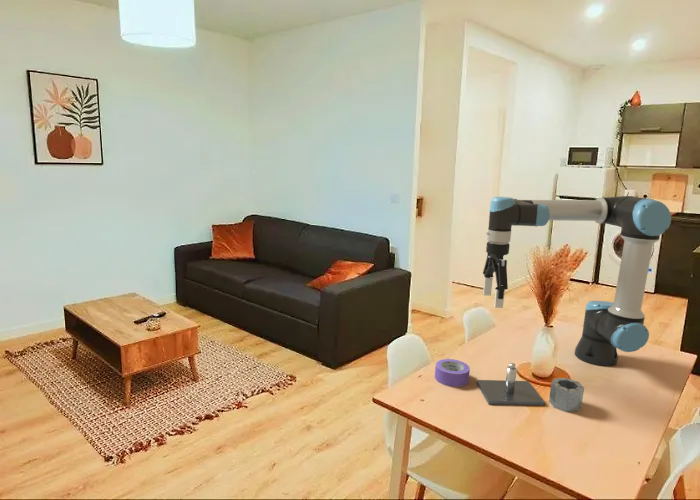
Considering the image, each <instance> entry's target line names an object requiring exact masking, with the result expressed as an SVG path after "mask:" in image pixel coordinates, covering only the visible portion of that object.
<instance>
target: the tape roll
mask: <svg viewBox="0 0 700 500" xmlns="http://www.w3.org/2000/svg"><path fill="white" fill-rule="evenodd" d="M470 371H471V369H470V366H469V365H468V363H465V362H464V361H461V360H458V359H453V358H452V359H451V358H444V359H443V358H442V359H439V360H437V361H436V363H435V369H434V379H435V381H437V382H438V383H440V384H441V385H444V386H447V387H452V388H455V387H456V388H457V387H459V388H460V387H464V386H466V385H467V384H469V381H470V380H469V379H470V373H471V372H470Z"/></svg>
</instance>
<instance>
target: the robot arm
mask: <svg viewBox="0 0 700 500" xmlns="http://www.w3.org/2000/svg"><path fill="white" fill-rule="evenodd" d="M489 206H490V207H489V216H488V217H489V218H488V219H489V220H488V230H487V231H488V232H486V236H487V242H486V247H485V248H486V250H485V253H487V256H486V260H485V264H484V267H483V272H482V274H483V276H484V278H483V279H484V280H483V281H484V282H483V292H482V295H483V296H489V297H490V296H492V290H493V278H494V274H495V282H496V287H495V288H494V289H495V297H494V307H493V308H498V309H503V308H504V302H505V300H504V299H505V292H506V290H509V289H508V288H509V286H508V270H507V265H508V260H507V259H504V256H508V254H509V253H510V246H511V245H510V242H511V237H512V228H513V227H512V226H515V227H516V226H519V227H520V226H523V227H543V226H544V227H545V226H546V225H547V224H548V223H549V221H574V222H576V221H578V222H580V221H582V222H583V221H584V222H589V221H591V222H593V221H594V222H595V223H597V224H605V225H606V224H607V225H612V226H615V227H619V228H621V229H620V237H621V238H622V240H623V246H622V254H621V259H620V264H619V271H618V276H617V282H616V288H615V293H614V299H613V302H612V301H605V300H591V301H588V302H587V303H586V306H585V309H584V312H585V313H584V319H583V327H582V333H581V334H582V335H581V337H580V338H579V340H578V343H577V345H576V346H575V348H574V356H575V357H577V359H579V360H581V361H583V362H585V363H588V364H592V365H595V366H601V367H602V366H603V367H604V366H605V367H611V366H614V365H617V363H618V359H619V356H618V355H619V354H618V350H620V351H622V352H625V353H633V352H636V351H639V350H640V349H641V348H643V347H644V346H645V345H646V344H647V343H648V341H649V337H650V332H649V330H648V328H647V327H646V326H645V325H644V323H645V317H646V314H645V313H644V312H643V311H642V306H643V302H644V294H645V290H646V285H647V280H648V279H647V278H648V273H649V267H650V262H651V257H652V251H653V247H654V246H653V245H654V244H655V243H657V242H658V241H660V238H661V235H663V234H664V233H665V231H666V230H668V229H669V227H670V225H671V222H672V213H671V211H670V209H669V207H667V205H666V204H665V203H663V202H662V201H659V200H656V199H653V198H648V197H647V198H646V197H638V196H633V195H632V196H631V195H622V196H608V197H603V196H601V197H598V198H596V199H590V200H589V199H585V200H584V199H517V198H513V197H510V196H509V197H508V196H494V197H492V198H491V202H490V205H489ZM617 349H618V350H617Z"/></svg>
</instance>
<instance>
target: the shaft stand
mask: <svg viewBox="0 0 700 500" xmlns="http://www.w3.org/2000/svg"><path fill="white" fill-rule="evenodd" d="M517 371H518V369H517V367H516V364H515V363H513V362H509V365H508V366H507V367H506V376H505V379H504V380H499V379H497V380H496V379H494V380H493V379H476V385H477V387H478V388H479V390H480V392H481V394H482V395H483V397H484V400H486V402H487V404H488V405H491V406H492V405H494V406H495V405H496V406H499V405H500V406H539V407H540V406H542V407H543V406H545V405H546V402H545V400H544V399H543V397H541V395H540V394H539V392H538V391H537V390H536V389H535V388H534V386H533V385H532V384H531V383H530V381H529V380H517V379H516V378H517Z"/></svg>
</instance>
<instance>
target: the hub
mask: <svg viewBox="0 0 700 500" xmlns="http://www.w3.org/2000/svg"><path fill="white" fill-rule="evenodd" d="M584 391H585V386H584V385H582V384H581V383H580V382H579V381H576V380H575V379H571V378H568V377H555V378H554V379H553V380H552V381H551V384H550V391H549V397H548V398H549V399H548V402H549V403H550V404H551V406H552V407H553V408H555V409H557V410H559V411H562V412H566V413H578V412H579V411H580V410H581V409H582V405H583V399H584V393H585V392H584Z"/></svg>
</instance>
